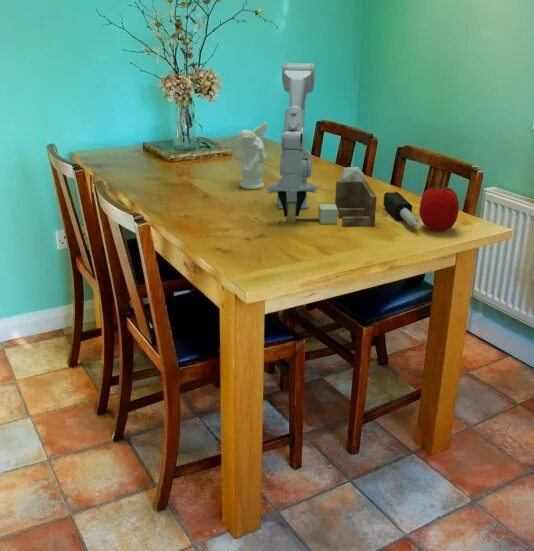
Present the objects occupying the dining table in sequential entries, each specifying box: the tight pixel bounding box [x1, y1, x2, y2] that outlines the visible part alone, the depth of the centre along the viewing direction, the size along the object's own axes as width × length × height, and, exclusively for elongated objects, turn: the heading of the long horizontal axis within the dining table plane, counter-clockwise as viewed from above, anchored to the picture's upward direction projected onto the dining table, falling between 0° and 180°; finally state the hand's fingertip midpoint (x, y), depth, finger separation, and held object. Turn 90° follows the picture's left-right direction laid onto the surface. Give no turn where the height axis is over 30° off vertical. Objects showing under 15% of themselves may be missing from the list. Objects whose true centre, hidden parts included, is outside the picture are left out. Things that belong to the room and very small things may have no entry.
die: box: [337, 166, 367, 181], centre depth 238 cm, size 8×9×10 cm
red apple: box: [418, 183, 460, 232], centre depth 201 cm, size 12×12×13 cm
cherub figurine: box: [238, 121, 268, 190], centre depth 241 cm, size 12×12×22 cm
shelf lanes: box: [334, 180, 377, 227], centre depth 211 cm, size 10×17×9 cm, turn 2°
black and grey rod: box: [382, 191, 419, 228], centre depth 210 cm, size 5×5×25 cm
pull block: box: [285, 201, 339, 225], centre depth 208 cm, size 15×5×6 cm, turn 93°
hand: (291, 215), depth 208 cm, fingers closed on pull block, 3 cm apart
